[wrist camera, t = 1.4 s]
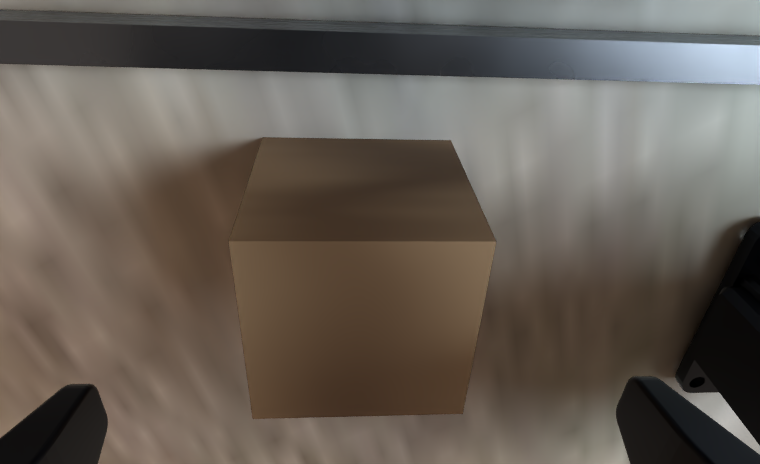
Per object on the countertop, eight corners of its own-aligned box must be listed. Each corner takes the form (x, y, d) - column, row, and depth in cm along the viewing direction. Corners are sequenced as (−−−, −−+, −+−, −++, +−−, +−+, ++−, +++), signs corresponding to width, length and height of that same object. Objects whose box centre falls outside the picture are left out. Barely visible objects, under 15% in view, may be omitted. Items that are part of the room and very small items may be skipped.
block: (450, 139, 13) (496, 241, 9) (432, 284, 15) (462, 413, 11) (262, 136, 12) (228, 241, 9) (275, 285, 15) (252, 418, 11)
